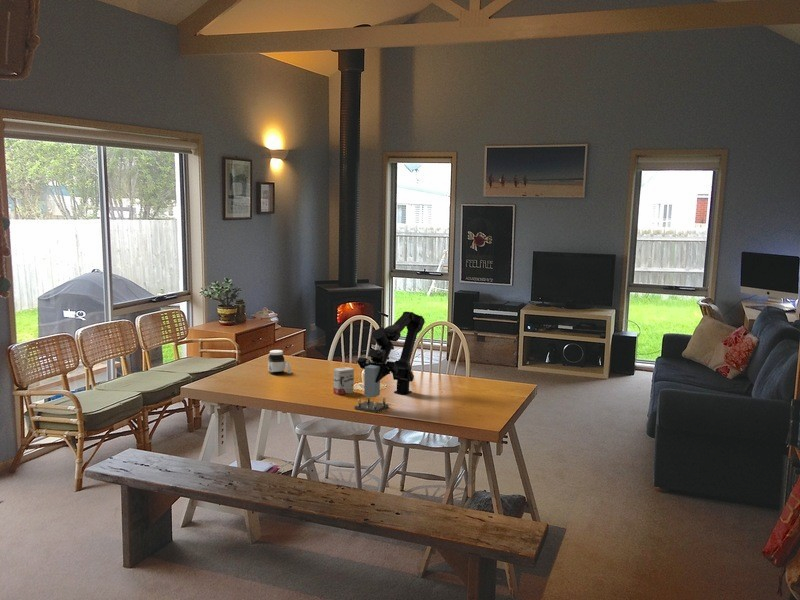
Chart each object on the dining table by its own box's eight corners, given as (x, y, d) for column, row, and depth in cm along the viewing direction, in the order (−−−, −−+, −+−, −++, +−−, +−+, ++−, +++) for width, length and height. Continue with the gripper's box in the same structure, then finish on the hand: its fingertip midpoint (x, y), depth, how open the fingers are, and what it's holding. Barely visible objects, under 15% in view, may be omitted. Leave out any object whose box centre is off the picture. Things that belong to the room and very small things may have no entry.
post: (370, 393, 310) (370, 364, 309) (379, 394, 308) (380, 366, 306) (364, 395, 306) (364, 367, 304) (374, 397, 304) (374, 368, 302)
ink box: (338, 395, 327) (338, 370, 325) (333, 392, 331) (333, 368, 329) (354, 392, 332) (354, 368, 330) (348, 390, 336) (349, 366, 334)
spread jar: (266, 371, 369) (266, 349, 368) (286, 369, 375) (286, 348, 373) (273, 376, 359) (273, 354, 357) (294, 374, 364) (294, 352, 362)
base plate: (367, 403, 315) (367, 394, 315) (388, 406, 310) (388, 397, 309) (354, 409, 305) (354, 399, 305) (376, 413, 300) (376, 403, 300)
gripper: (359, 339, 311) (345, 368, 303) (396, 344, 303) (383, 374, 295) (367, 353, 320) (355, 382, 311) (403, 358, 311) (391, 388, 303)
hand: (370, 381), depth 305 cm, fingers closed on post, 5 cm apart
